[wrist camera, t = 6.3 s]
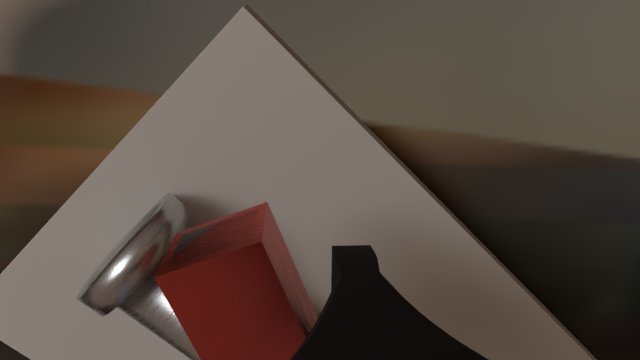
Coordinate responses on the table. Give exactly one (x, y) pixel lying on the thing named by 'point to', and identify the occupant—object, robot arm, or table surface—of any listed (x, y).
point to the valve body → (142, 275)
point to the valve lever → (237, 288)
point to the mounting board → (285, 203)
